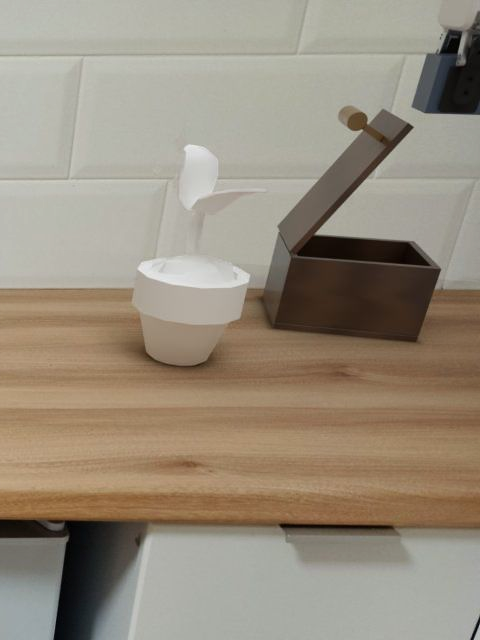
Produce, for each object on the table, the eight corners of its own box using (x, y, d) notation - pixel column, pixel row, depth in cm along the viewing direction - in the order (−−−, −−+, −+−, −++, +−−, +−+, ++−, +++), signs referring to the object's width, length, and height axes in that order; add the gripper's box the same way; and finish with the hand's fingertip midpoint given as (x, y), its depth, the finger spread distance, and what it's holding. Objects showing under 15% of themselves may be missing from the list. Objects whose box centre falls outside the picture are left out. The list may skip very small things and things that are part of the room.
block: (466, 108, 90) (483, 53, 87) (482, 115, 85) (501, 57, 83) (411, 107, 91) (426, 53, 88) (424, 113, 87) (441, 57, 84)
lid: (388, 112, 105) (352, 86, 105) (414, 127, 94) (374, 99, 94) (281, 229, 114) (248, 206, 114) (294, 255, 103) (258, 229, 103)
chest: (392, 309, 114) (414, 241, 110) (416, 342, 104) (441, 268, 100) (262, 297, 118) (278, 231, 114) (272, 329, 108) (291, 257, 104)
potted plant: (101, 345, 103) (137, 114, 90) (184, 334, 106) (230, 109, 94) (172, 387, 93) (224, 132, 80) (261, 372, 96) (324, 126, 84)
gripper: (607, -121, 71) (522, 121, 80) (527, -105, 85) (462, 99, 94) (500, -119, 73) (428, 118, 82) (439, -103, 87) (384, 97, 96)
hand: (447, 106), depth 88 cm, fingers closed on block, 5 cm apart
